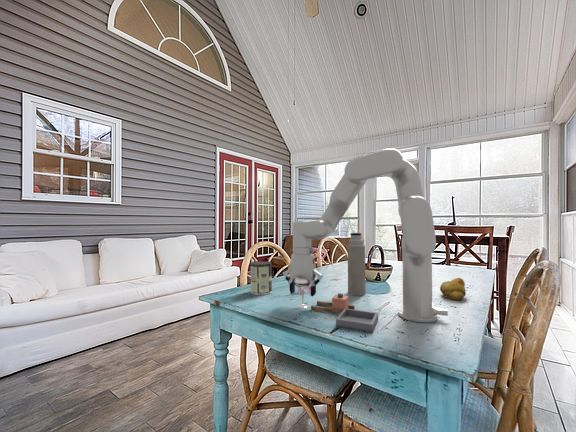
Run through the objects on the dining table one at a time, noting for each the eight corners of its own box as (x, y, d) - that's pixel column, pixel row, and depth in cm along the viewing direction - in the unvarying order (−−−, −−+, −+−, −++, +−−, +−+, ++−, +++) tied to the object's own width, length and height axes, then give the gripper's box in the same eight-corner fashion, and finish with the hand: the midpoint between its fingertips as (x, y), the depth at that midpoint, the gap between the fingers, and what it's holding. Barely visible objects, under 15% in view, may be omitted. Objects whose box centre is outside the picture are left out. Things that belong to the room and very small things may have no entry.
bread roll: (467, 303, 115) (467, 283, 115) (440, 300, 119) (440, 281, 119) (464, 294, 127) (464, 277, 127) (439, 292, 131) (439, 275, 131)
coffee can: (262, 288, 142) (262, 260, 142) (276, 291, 135) (276, 262, 135) (246, 292, 135) (245, 262, 135) (260, 296, 128) (259, 265, 128)
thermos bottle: (363, 290, 135) (362, 232, 135) (367, 295, 127) (366, 233, 127) (346, 290, 135) (345, 232, 135) (349, 295, 127) (349, 233, 127)
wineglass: (301, 302, 118) (300, 273, 118) (314, 305, 114) (314, 275, 114) (291, 306, 113) (290, 276, 113) (304, 309, 109) (304, 278, 109)
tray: (378, 320, 97) (378, 312, 97) (372, 332, 87) (372, 324, 87) (344, 315, 102) (344, 308, 102) (336, 326, 92) (335, 319, 92)
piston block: (348, 309, 108) (348, 292, 108) (345, 313, 104) (345, 296, 104) (335, 307, 110) (335, 291, 110) (332, 311, 106) (332, 294, 106)
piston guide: (354, 309, 109) (354, 305, 109) (348, 318, 99) (348, 313, 99) (317, 304, 115) (317, 300, 115) (308, 312, 106) (308, 308, 106)
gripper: (325, 251, 113) (326, 294, 113) (286, 249, 121) (287, 289, 121) (319, 253, 107) (320, 299, 107) (278, 251, 114) (279, 294, 114)
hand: (302, 294), depth 114 cm, fingers open, 8 cm apart
